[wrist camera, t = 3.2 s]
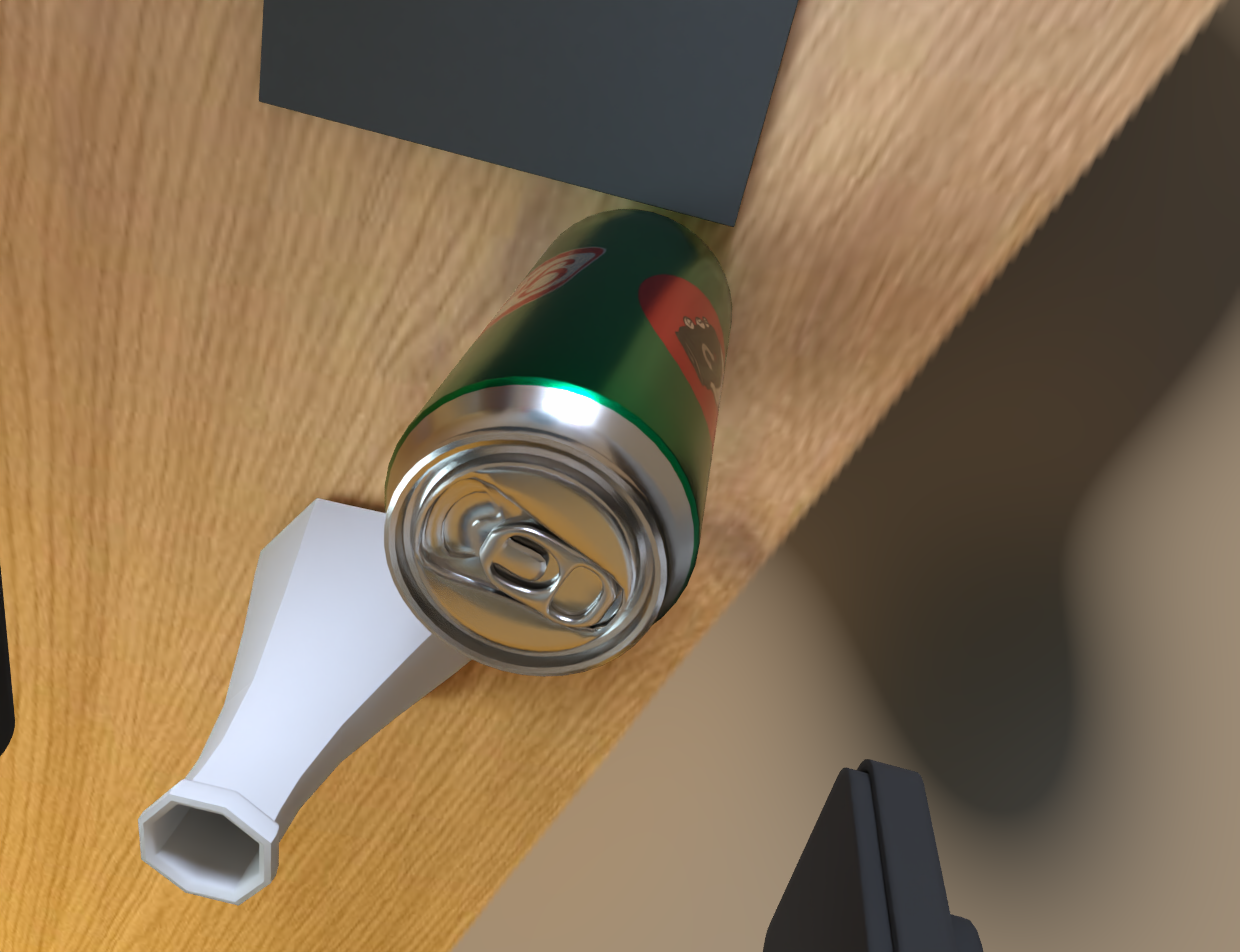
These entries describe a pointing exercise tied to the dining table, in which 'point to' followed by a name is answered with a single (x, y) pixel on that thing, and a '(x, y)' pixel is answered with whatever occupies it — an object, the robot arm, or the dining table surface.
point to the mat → (547, 85)
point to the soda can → (568, 453)
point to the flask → (295, 700)
